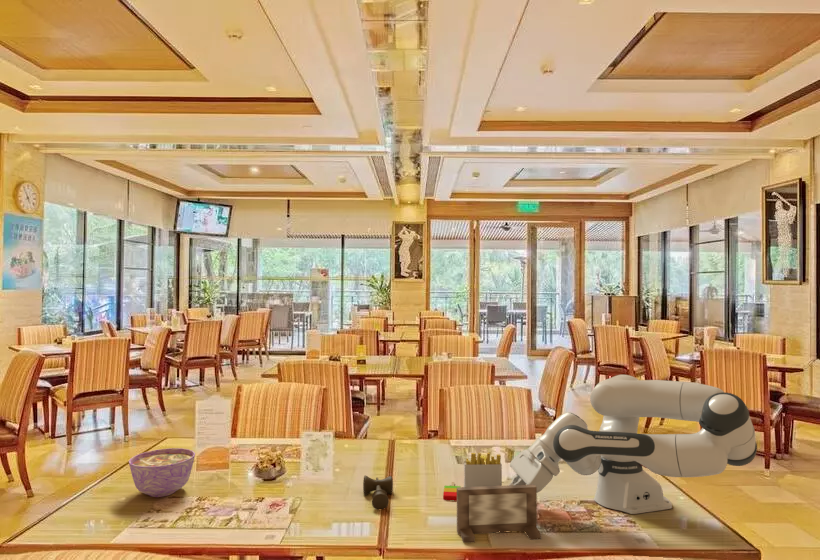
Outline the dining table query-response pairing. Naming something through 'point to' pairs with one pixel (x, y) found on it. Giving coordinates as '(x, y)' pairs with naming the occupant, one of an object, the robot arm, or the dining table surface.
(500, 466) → the french fries container
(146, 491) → the bowl of food
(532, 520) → the menu board
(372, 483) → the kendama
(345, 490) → the dining table surface
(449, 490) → the popsicle
